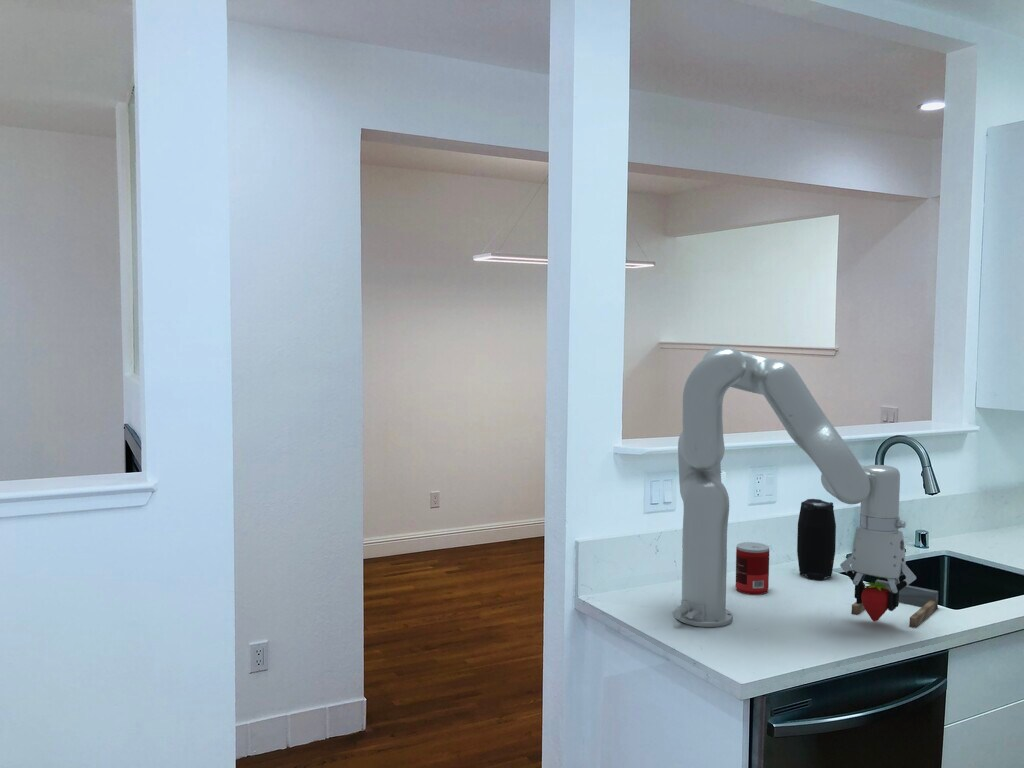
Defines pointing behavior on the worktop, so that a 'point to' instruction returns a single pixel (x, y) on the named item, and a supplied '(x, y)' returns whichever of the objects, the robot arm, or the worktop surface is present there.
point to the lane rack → (911, 602)
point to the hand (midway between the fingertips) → (876, 605)
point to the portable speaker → (816, 539)
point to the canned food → (752, 568)
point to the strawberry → (875, 599)
